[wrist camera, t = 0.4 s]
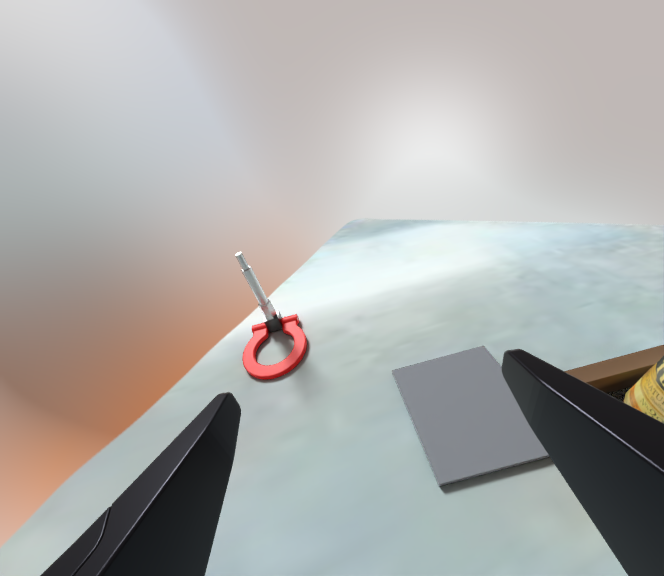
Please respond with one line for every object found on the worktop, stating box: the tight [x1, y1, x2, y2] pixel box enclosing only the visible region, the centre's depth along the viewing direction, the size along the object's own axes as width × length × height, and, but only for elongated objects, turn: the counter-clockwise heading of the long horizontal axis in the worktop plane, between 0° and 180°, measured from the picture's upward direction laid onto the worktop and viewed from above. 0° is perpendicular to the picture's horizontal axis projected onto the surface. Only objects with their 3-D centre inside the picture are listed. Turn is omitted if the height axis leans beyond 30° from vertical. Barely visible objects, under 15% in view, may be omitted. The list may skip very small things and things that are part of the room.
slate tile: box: [392, 346, 550, 486], centre depth 23 cm, size 10×10×1 cm
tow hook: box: [235, 252, 307, 380], centre depth 29 cm, size 8×13×9 cm
